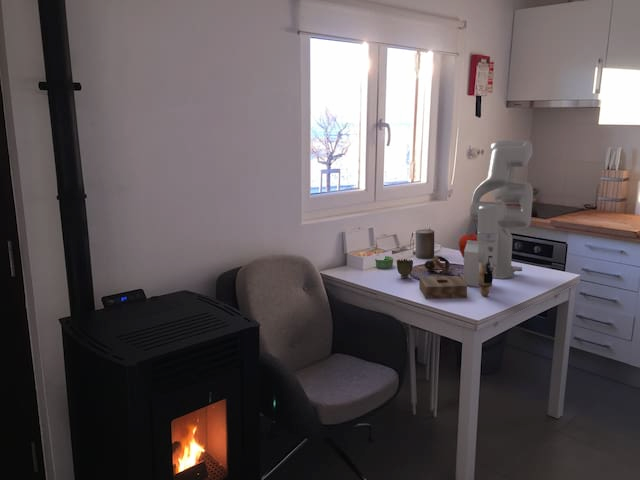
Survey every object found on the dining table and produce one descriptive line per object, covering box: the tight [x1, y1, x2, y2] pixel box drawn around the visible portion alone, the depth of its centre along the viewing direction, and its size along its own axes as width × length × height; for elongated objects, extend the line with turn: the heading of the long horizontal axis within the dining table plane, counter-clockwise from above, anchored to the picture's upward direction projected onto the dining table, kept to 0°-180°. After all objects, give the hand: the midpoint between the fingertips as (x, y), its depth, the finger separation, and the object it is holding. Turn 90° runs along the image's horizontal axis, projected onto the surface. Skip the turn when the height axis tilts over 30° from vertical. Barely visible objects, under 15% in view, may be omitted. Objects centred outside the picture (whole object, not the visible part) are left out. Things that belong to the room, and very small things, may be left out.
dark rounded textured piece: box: [396, 258, 414, 280], centre depth 245 cm, size 8×7×8 cm
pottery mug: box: [424, 255, 451, 274], centre depth 253 cm, size 12×10×8 cm
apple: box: [458, 234, 478, 259], centre depth 269 cm, size 12×12×14 cm
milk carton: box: [462, 240, 481, 288], centre depth 232 cm, size 7×7×19 cm
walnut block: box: [418, 275, 468, 300], centre depth 223 cm, size 16×14×5 cm
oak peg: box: [478, 263, 493, 298], centre depth 217 cm, size 5×5×14 cm
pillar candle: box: [415, 228, 435, 260], centre depth 280 cm, size 10×10×15 cm
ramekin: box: [374, 255, 394, 270], centre depth 265 cm, size 9×9×4 cm
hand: (485, 279), depth 217 cm, fingers open, 6 cm apart
